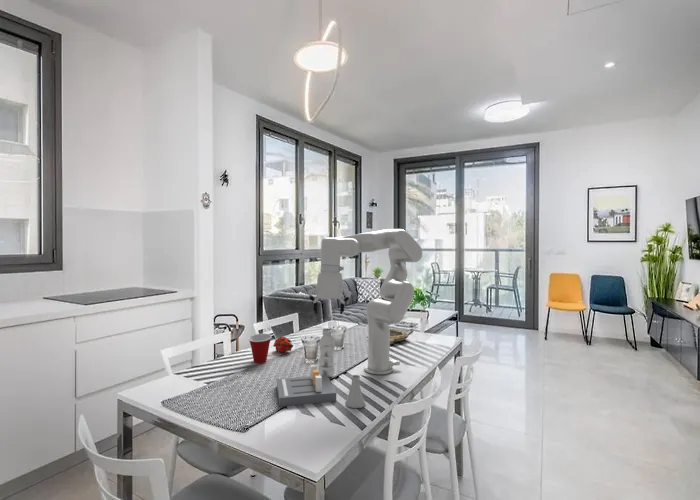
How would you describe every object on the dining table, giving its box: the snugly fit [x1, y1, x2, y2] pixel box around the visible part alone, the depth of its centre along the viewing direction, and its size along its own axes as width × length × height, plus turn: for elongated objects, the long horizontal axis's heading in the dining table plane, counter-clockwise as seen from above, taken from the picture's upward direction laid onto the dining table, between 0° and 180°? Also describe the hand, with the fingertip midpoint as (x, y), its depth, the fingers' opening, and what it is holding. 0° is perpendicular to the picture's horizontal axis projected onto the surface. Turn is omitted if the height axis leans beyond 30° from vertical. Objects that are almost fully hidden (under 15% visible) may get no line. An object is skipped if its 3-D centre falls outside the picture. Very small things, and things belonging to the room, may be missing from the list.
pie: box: [366, 328, 409, 345], centre depth 217 cm, size 28×27×5 cm
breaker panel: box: [276, 364, 337, 408], centre depth 140 cm, size 20×18×8 cm
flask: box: [344, 374, 366, 409], centre depth 131 cm, size 7×7×10 cm
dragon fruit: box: [272, 335, 294, 355], centre depth 191 cm, size 8×8×12 cm
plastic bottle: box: [318, 328, 336, 379], centre depth 157 cm, size 6×7×20 cm
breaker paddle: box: [313, 369, 319, 386], centre depth 141 cm, size 2×2×5 cm
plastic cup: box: [247, 333, 273, 364], centre depth 175 cm, size 11×11×12 cm
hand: (328, 313), depth 145 cm, fingers open, 9 cm apart
